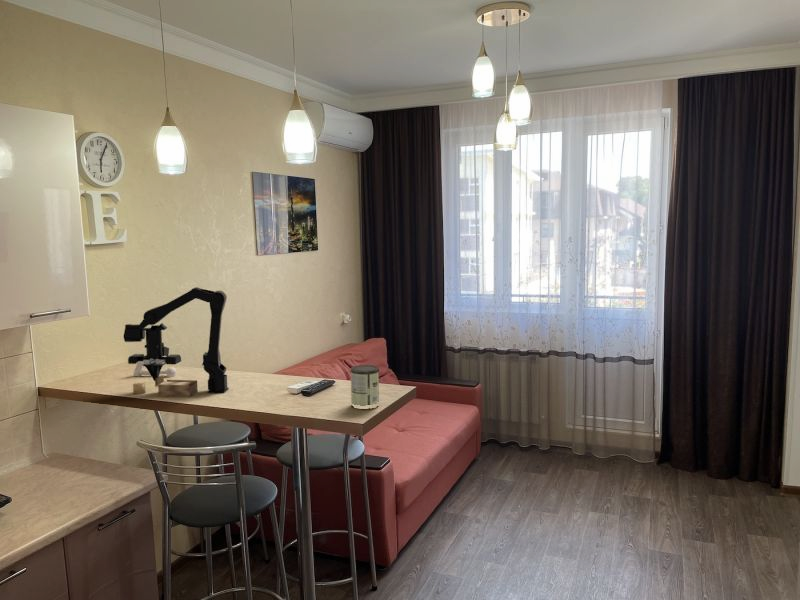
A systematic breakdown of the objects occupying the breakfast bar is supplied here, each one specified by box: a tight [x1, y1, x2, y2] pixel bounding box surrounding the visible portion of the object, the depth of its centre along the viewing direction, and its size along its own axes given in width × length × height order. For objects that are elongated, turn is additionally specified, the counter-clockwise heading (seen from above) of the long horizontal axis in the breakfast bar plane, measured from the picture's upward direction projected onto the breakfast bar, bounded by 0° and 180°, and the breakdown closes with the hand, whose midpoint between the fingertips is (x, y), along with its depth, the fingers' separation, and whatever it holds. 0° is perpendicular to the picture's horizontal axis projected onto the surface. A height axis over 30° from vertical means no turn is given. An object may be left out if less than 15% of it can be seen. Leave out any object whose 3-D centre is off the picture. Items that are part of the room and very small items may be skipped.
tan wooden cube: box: [132, 382, 147, 395], centre depth 235 cm, size 4×4×4 cm
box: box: [158, 379, 198, 398], centre depth 234 cm, size 12×8×4 cm, turn 87°
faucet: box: [133, 361, 177, 378], centre depth 262 cm, size 4×18×10 cm, turn 90°
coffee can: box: [350, 364, 380, 406], centre depth 219 cm, size 10×10×14 cm
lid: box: [154, 374, 191, 388], centre depth 234 cm, size 12×6×3 cm, turn 87°
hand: (155, 380), depth 234 cm, fingers closed
